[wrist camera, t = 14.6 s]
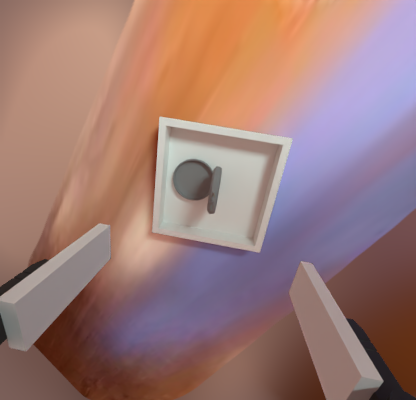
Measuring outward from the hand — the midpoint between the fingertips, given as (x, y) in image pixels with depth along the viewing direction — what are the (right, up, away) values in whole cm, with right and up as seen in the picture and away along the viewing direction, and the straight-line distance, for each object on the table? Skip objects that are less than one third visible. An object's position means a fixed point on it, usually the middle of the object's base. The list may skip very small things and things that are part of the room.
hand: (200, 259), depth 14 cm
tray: (+2, +7, +19) cm, 21 cm away
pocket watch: (0, +7, +19) cm, 20 cm away
